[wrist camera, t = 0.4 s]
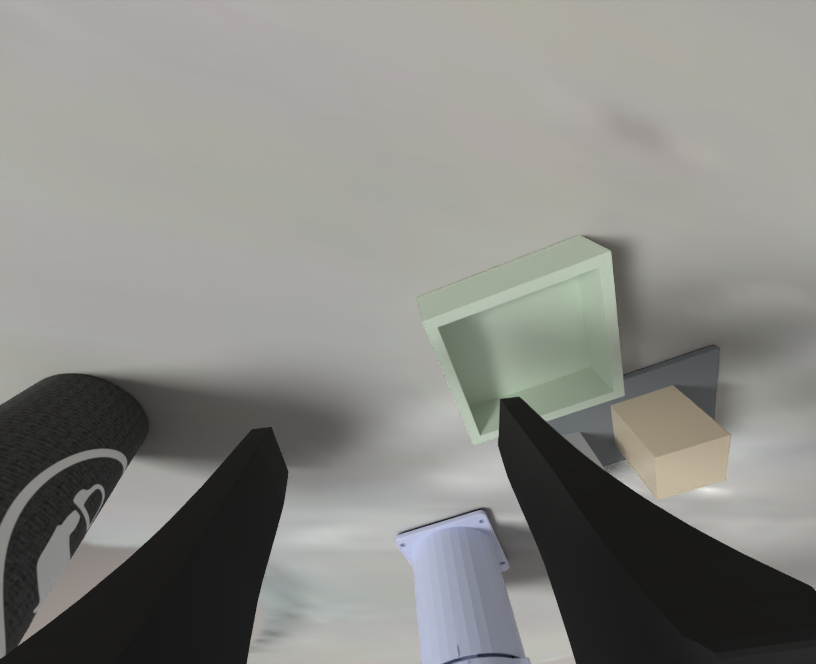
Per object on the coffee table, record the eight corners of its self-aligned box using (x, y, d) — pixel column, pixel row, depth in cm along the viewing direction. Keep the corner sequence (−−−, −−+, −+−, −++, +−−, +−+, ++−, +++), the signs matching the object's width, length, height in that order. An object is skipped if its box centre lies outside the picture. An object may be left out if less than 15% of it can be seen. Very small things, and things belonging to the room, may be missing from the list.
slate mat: (708, 428, 27) (713, 432, 26) (527, 484, 28) (529, 488, 28) (714, 344, 23) (719, 348, 23) (504, 414, 25) (506, 418, 24)
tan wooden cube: (673, 427, 26) (726, 480, 22) (615, 445, 26) (656, 500, 22) (673, 385, 24) (731, 434, 20) (610, 405, 24) (655, 457, 20)
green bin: (597, 367, 23) (624, 395, 21) (463, 412, 24) (473, 445, 22) (579, 234, 19) (611, 250, 16) (416, 297, 20) (421, 321, 17)
